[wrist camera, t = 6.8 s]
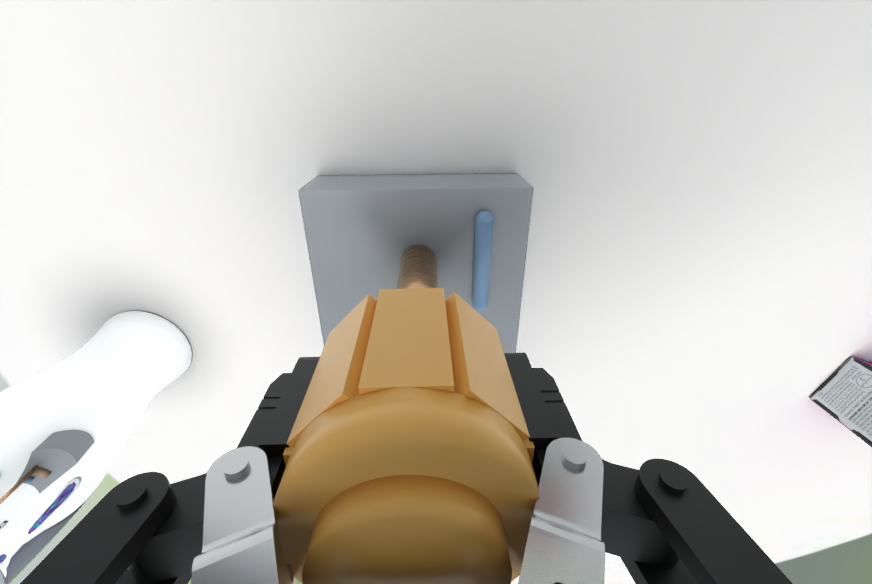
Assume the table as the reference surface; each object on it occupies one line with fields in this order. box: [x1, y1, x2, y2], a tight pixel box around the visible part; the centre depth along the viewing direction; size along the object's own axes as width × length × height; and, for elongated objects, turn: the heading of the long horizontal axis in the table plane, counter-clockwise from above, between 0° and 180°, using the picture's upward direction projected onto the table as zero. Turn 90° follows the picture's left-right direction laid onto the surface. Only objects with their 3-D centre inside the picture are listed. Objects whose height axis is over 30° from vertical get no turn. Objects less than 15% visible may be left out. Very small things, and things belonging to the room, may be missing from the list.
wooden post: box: [397, 245, 438, 289], centre depth 18 cm, size 2×2×9 cm
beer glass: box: [0, 311, 192, 584], centre depth 22 cm, size 7×7×15 cm
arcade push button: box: [272, 288, 540, 584], centre depth 10 cm, size 6×6×7 cm
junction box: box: [298, 173, 533, 353], centre depth 25 cm, size 16×12×5 cm
